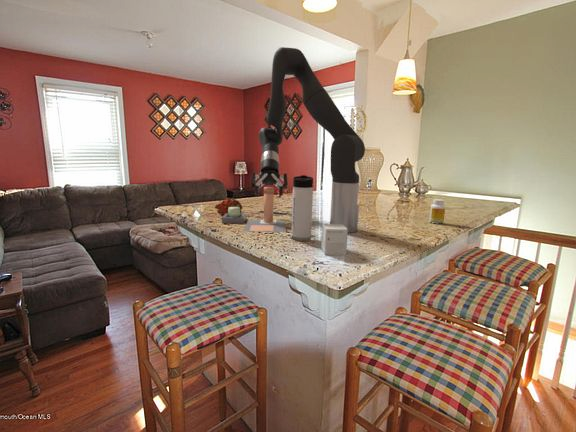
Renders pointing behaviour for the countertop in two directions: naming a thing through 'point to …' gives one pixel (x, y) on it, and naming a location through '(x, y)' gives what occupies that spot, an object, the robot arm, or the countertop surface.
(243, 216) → the button housing
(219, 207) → the dragon fruit
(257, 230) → the board
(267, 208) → the tan tall block
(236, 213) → the button
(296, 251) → the countertop surface
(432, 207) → the supplement bottle
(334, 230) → the product box
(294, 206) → the travel mug
